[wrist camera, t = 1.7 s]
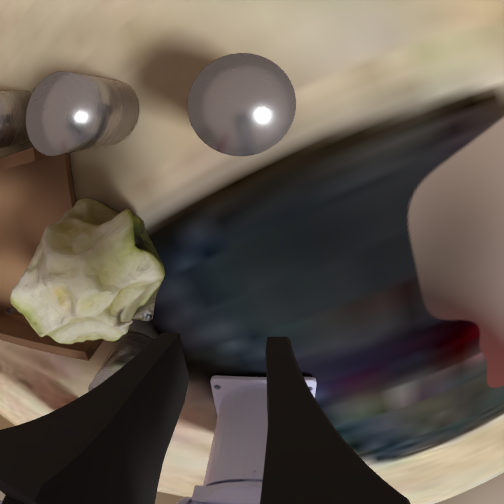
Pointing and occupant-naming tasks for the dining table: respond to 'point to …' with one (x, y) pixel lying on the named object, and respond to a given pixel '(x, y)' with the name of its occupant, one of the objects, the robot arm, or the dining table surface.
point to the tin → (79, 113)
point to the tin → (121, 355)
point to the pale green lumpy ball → (90, 276)
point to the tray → (31, 236)
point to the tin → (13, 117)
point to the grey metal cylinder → (241, 104)
